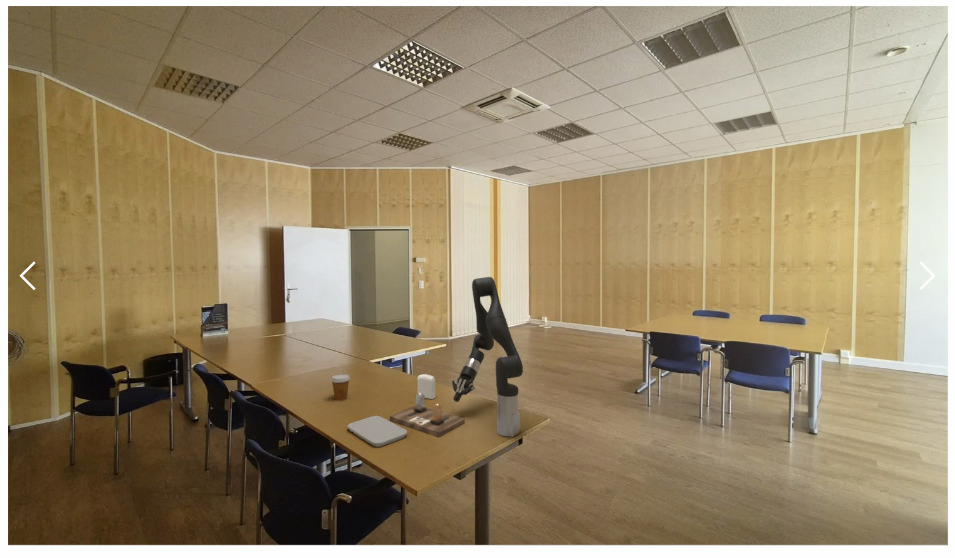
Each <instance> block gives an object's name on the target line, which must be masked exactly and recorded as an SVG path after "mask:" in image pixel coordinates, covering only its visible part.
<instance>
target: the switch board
mask: <svg viewBox="0 0 955 558" xmlns="http://www.w3.org/2000/svg"><path fill="white" fill-rule="evenodd" d="M425 407H426V408H427V410H425V411H423V412H417V411H414V408H416V404H414V405H413V406H410V407H408V408H405V409H403V410H401V411H399V412H396V413H394V414H392V415H390V416H389V421H390V422H392V423H395V424H396V423H397V424H399V425H402V426H406V427H407V428H412V429H414V430H417V431H419V432H423V433H426V434H429V435H431V436H435V437H436V438H437V437H438V438H441V437H442V436H444V435H446V434H447V433H450V432H452V431H454V430H455V429H456V428H458V427H460V426H462V425H463V424H466V423H465V420H466V419H465V418H464V417H461V416H457V415H453V414H450V413H447V412H443V411H442V419H444V422H443V423H441V424H439V425H436V424H433V423H430V420H432V419H433V408H431V407H430V408H429V407H427V406H425Z"/></svg>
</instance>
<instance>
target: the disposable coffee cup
mask: <svg viewBox="0 0 955 558" xmlns="http://www.w3.org/2000/svg"><path fill="white" fill-rule="evenodd" d="M350 380H351V377H350V375H349V374H345V373H340V374H334V375H332V376H331V379H330V381H331V384H332V388H333V389H332V390H333V396H334V400H335V401H344V399H345V400H347V399H348V393H349V383H350ZM346 398H347V399H346Z"/></svg>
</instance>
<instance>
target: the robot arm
mask: <svg viewBox="0 0 955 558" xmlns="http://www.w3.org/2000/svg"><path fill="white" fill-rule="evenodd" d="M494 279H495V278H493V277H491V276H485V277H478V278H474V279H473V280H472V281H471V282H472V283H471V288H472V289H471V291H472V298H473V303H474V309H475V317H476V320H475V321H476V323H475V324H476V332H477V335H475V336H474V337H473V343H472V347H471V351H470V354H469V356H468V358H467V360H466V361H465V363H464V365H463V367H462V369H461V371H460V373H459V377H458V378H457V379H456V380H454V379H453V380H452V381H451V384H452V388H453V391H454V392H455V394H454V396H453V401H454V402H455V403H458V402H459V401H460V400H461V398H462V396H466V395H468V394H469V393H470V392H472V391H474V390H475V388H476V387H475V386H474V384H473V383H474V381H475V379H476V377H477V374H478V372H479V370H480V369H481V365H482V363H483V361H484V358H485V353H484V352H483V351H482V350H484V351H491V350H492V349H493V348H494V346H495V342H496V343H497V344H498V345H500V346H501V347H502V349H503V350H504V352H505V354H506V356H501V357H498V358H497V359H496V361H495V384H496V433H497V434H498V435H499V436H502V437H512V438H513V437H515V436H517V435H518V434H519V433H520V432H521V430H520V429H521V410H519V387H518V386H517V385H515V384H513V383H509V379H512V378H513V379H514V378H515V379H516V378H520V377H521V376H523V372H524V367H523V362H522V359H521V356H520V355H519V352H518V350H517V348H516V344H515V343H514V340H513V338H512V334H511V332H510V327H509V324H508V321H507V319H506V316H505V313H504V309H503V308H502V305H501V301H500V296H499V293H498V289H497V285H496V281H495V280H494ZM484 297H490V306H489V308H488V311H487V310H486V308H485V307H484V305H483V304H482V300H481V298H484Z"/></svg>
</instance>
